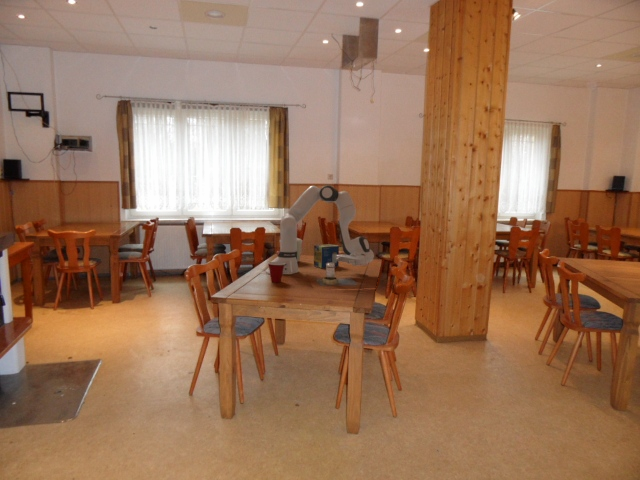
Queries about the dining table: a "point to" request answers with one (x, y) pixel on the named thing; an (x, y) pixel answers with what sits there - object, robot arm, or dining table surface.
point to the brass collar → (330, 281)
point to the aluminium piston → (330, 271)
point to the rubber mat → (339, 282)
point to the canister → (299, 245)
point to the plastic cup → (276, 271)
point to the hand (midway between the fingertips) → (342, 260)
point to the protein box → (325, 255)
